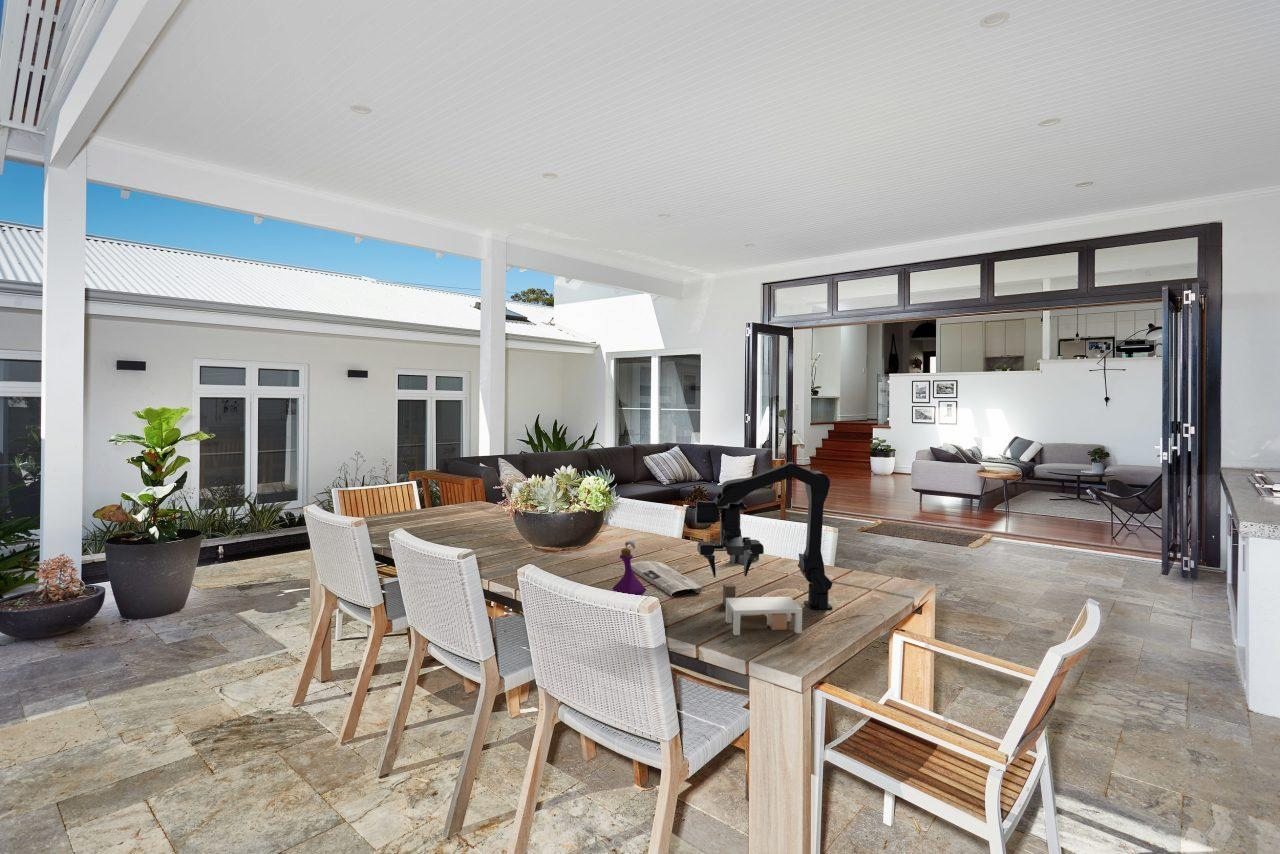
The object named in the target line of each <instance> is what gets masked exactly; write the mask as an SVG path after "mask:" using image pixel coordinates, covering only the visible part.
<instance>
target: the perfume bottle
mask: <svg viewBox="0 0 1280 854" xmlns="http://www.w3.org/2000/svg"><path fill="white" fill-rule="evenodd" d="M624 545H625V548H623V549H621V551H620V552H621V554H620V555H619V559H621V560H622V561H623V565H624V574H623V576H622V577H621V579H620V580H619V581H618V582H617V583H616V584H615V585H614V586H613V587H612V588H611V589H612V591H613V592H614V591H617V592H622V593H628V594H635V595H642V596H643V595H644V593H646V591H647V588H646V587H645V586H644V584H643V583H642V582H641V581H640V580H639V578H638V577H636V575H635V572H633V571H632V568H631V564H632V563H631V560H632V559H633V558H634V556H633V554H632V553H631V552H632V550H631V549H630V548H628V546H629V545H630V547H632V549H633V550H635V548H636V541H635V540H629V541H626V542H625V543H624Z"/></svg>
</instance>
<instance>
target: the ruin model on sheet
mask: <svg viewBox="0 0 1280 854" xmlns="http://www.w3.org/2000/svg"><path fill="white" fill-rule="evenodd" d="M756 540H757V539H751V541H756ZM744 556H745V551H744V555H733V556H731V555H729V562H730V563H732V564H734V565H735V562H738V563H739V564H740V563H741V564H742V563H744ZM755 561H760V556H759V557H755V558H754V559H753V561H752V562H755Z"/></svg>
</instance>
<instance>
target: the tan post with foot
mask: <svg viewBox="0 0 1280 854" xmlns="http://www.w3.org/2000/svg"><path fill="white" fill-rule="evenodd" d="M722 587H723V588H722V605H723V606H724V607H725V608H726V598H736V592H737V591H736V589H737V586H736V585H735V584H734V583H723V584H722ZM732 616H733V611H732ZM740 629H741V630H750V629H751V630H754V629H755V630H759V629H761V630H762V629H768V615H766V614H740Z"/></svg>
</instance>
